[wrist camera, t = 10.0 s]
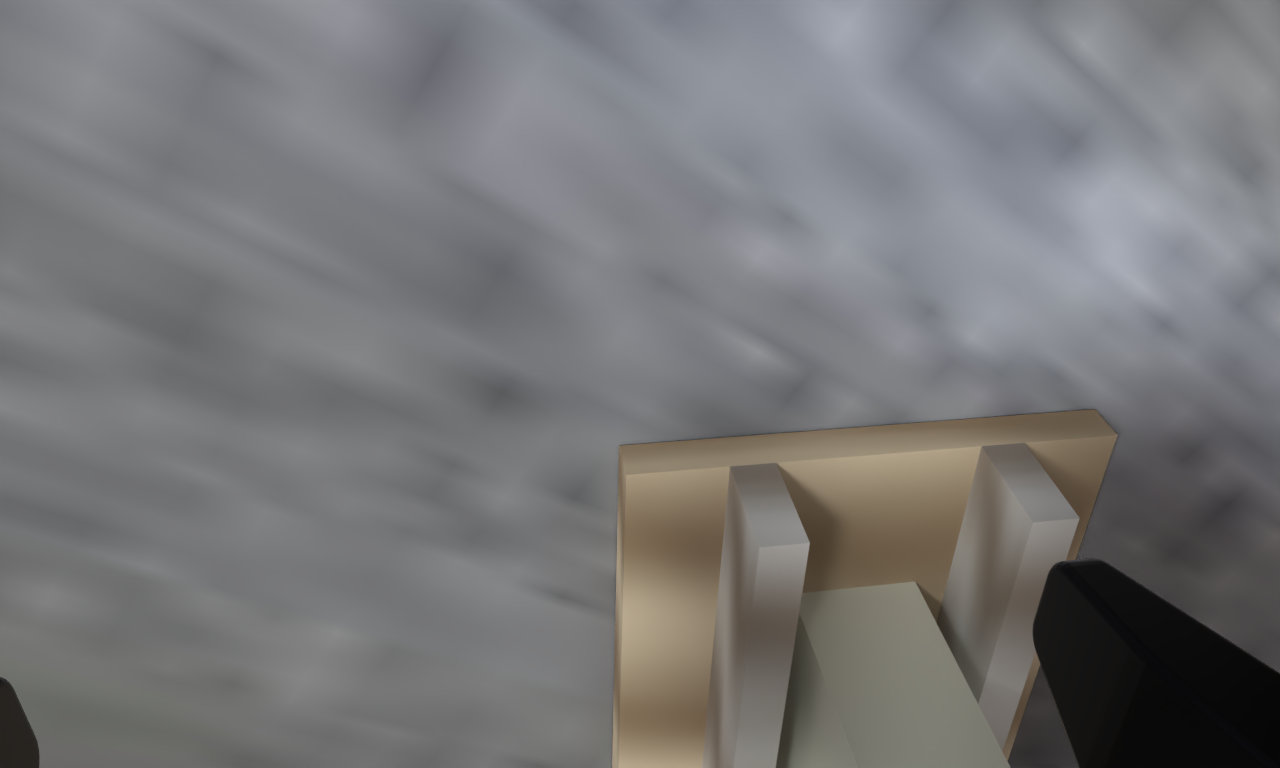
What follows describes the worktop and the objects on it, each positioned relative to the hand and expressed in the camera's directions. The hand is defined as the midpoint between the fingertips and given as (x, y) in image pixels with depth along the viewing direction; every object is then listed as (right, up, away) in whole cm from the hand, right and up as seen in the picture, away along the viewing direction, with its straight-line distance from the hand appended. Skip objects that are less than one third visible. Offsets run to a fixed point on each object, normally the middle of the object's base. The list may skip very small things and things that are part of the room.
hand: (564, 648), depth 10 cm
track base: (+5, -6, +20) cm, 21 cm away
